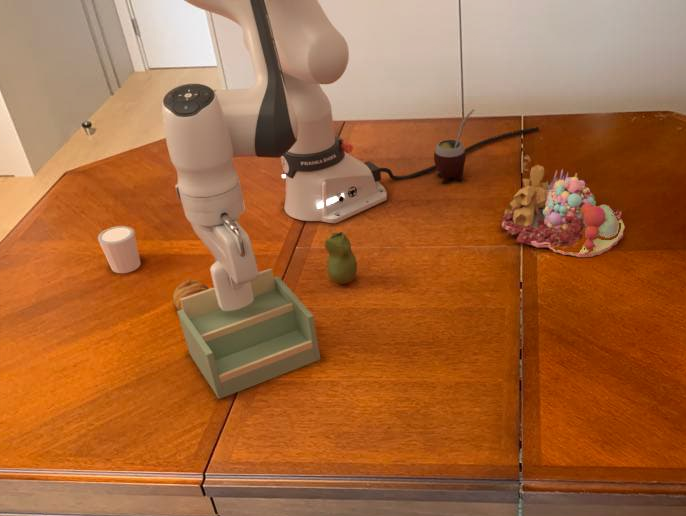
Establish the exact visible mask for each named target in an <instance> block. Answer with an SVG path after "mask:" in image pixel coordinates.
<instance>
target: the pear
mask: <svg viewBox="0 0 686 516" xmlns="http://www.w3.org/2000/svg"><path fill="white" fill-rule="evenodd" d="M324 248H325V250H326V251H327V252H328V257H327V261H326V263H327V264H326V270H327V276H328V278H329V279H330V281H332V282H334V283H335V284H338V285H346V284H349V283H351V282H352V281H353V280H354V279H355V277H356V275H357V271H358V264H357V263H358V262H357V258H356V255H355V254H354V252H353V250H352V244H351V242H350V239H349V238H348V237H347V235H346V233H344V232H343V231H340V232H332V233H331V235H330V236H329V238H327V239H326V240H325V243H324Z"/></svg>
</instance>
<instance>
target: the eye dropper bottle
mask: <svg viewBox="0 0 686 516" xmlns="http://www.w3.org/2000/svg"><path fill="white" fill-rule="evenodd" d="M209 271H210V275H211V280H212V284H213V288H215V292H216V296H217V300H218V304H219V306H220V308H221V309H222V310H223V311H233V310H237V309H241V308H243V307H245V306H247V305H249V304H251V303H252V302H253V300H254V297H253V292H252V288H251V283H250V282H248V283H245V284H243V285H244V286H243V288H241V289H238V290H233V289H232V287H231V286H230V284H229V280H228V277H229V274H228V273H227V272H226V270H225V269H224V268H223V267H222V265H221V264H220V263H219V262H218V261H215V262H214V263H213V264H211V266H210V268H209Z"/></svg>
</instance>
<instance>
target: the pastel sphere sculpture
mask: <svg viewBox="0 0 686 516" xmlns="http://www.w3.org/2000/svg"><path fill="white" fill-rule="evenodd" d="M544 176H545V167H544V166H542V165H539V164H536V165H534V166H532V167H531V168H530V173H529V178H522V182H523V186H524V187H522V188H520V189H518V191H517V192H516V193H515V194H514V196H513V199H512V200H511V202H510V203H508V205H507V207H506V208H505V210H504V212H503V213H504V215H503V216H502V219H503V221H502V222H501V228H502V229H504V230H507V231H506V234H505V236H506V237H507V236H512V235H517V234H518V236H517V238H516V240H515V243H518V244H523V245H526V246H530V245H531V246H533V247H535V248H549V250H551V251H553V252H554V253H559V254H561V255H564V256H567V255H568V256H572V257H578V258H591V257H595V256H600V255H602V254H603V253H605V252H609V251H610V250H611V249H612V248H613V247H614V246H616V245H617V244H618V242H619V241H620V240H621V239H622V238H623V237H624V231H625V228H626V226H625V224H624V221H623V219H622V218H621V216H622V210H620V211H619V209H617V210H616V212H614V210H613V209H612V208H611V207H610V206H609V205H607V204H605V203H604V204H600V205H596V204H597V202H596V200H595V196H594V194H593V193H592V192H591V190H590V188H589V187H586V182H585V181H584V180H583V179H580V180H579V177H578V173H577V172H576V173H575V174H574V176H572V177H571V176H569V172H567V173H566V175H564V168H562V169H561V170H560V175H559V178H558V177H557V176H558V169H556V170H555V172H554V175H553V179H552V181H551V182H550V184H549V182H548V181H546V182H542V180H543V179H544ZM566 202H567V203H566ZM570 209H571V210H570ZM575 209H577V210H576V211H575ZM579 209H580V210H579ZM578 210H579V211H578ZM613 212H614V213H613ZM574 213H576V214H574ZM577 213H579V214H577ZM615 213H616V214H617V213H618V215H617V216H615V215H614V214H615ZM564 216H565V217H564ZM574 216H575V217H574ZM616 217H617V218H618V219H620V218H621V219H620V220H617V218H616ZM561 223H563V224H562V225H561ZM568 223H569V224H568ZM619 223H621V229H620V232H619V234H618V236H617V237H616V238H614V239H612V240H601V239H599V238H597V237H598V236H599V235H600V236H601V237H602V236H603V237H605V238H610V237H613V236H615V235H616V234H617V233H618V229H619ZM561 228H562V230H563V231H566V232H563V231H562V230H561ZM583 228H584V229H585V237H586V238H587V240H586V241H585V243H584V245H583V247H582V249H581V250H580V252H579V253H573V252H564V251H561V250H555V249H554V248H553V247H550V246H551V245H550V243H551V244H553V246H554V247H555V246H556V247H558V246H563V245H565V246H567V247H572V246H573V245H574V243H576V242H578V241H579V240H581V239H582V237H583V236H584V234H583V232H582V229H583ZM544 244H549V245H544ZM594 245H595V247H594ZM584 248H585V250H584ZM592 248H593V251H591V252H589V250H590V249H592ZM588 252H589V253H588ZM585 253H588V254H585Z"/></svg>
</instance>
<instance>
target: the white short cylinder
mask: <svg viewBox="0 0 686 516" xmlns="http://www.w3.org/2000/svg"><path fill="white" fill-rule="evenodd" d="M97 241H98V243H99V246H100V247H101V249H102V251H103V254H104V256H105V258H106V261H107V262H108V264H109V266H110V268H111V269H110V270H112V272H114V273H117V274H127V273H132V272H133V271H136V270H137V269H138V268H140V266H141V264H142V263H141V259H140V254H139V249H138V243H137V239H136V234H135V230H134V228H132V227H130V226H127V225H117V226H113V227H109V228H107V229H104V230H103V231H101V232H100V233H98V235H97Z"/></svg>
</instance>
